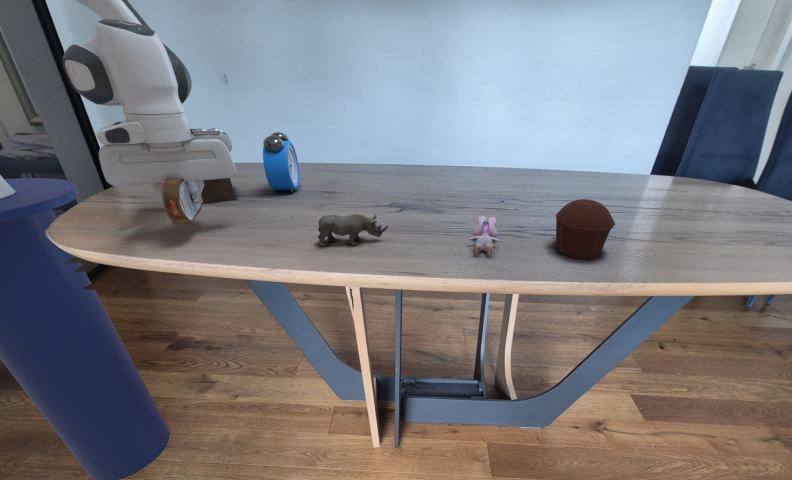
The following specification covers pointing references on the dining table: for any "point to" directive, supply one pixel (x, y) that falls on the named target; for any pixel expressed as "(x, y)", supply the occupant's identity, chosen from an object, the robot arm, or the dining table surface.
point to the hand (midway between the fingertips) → (185, 203)
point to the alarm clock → (280, 162)
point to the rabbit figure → (485, 234)
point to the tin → (180, 200)
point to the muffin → (582, 228)
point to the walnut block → (217, 190)
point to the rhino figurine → (347, 227)
